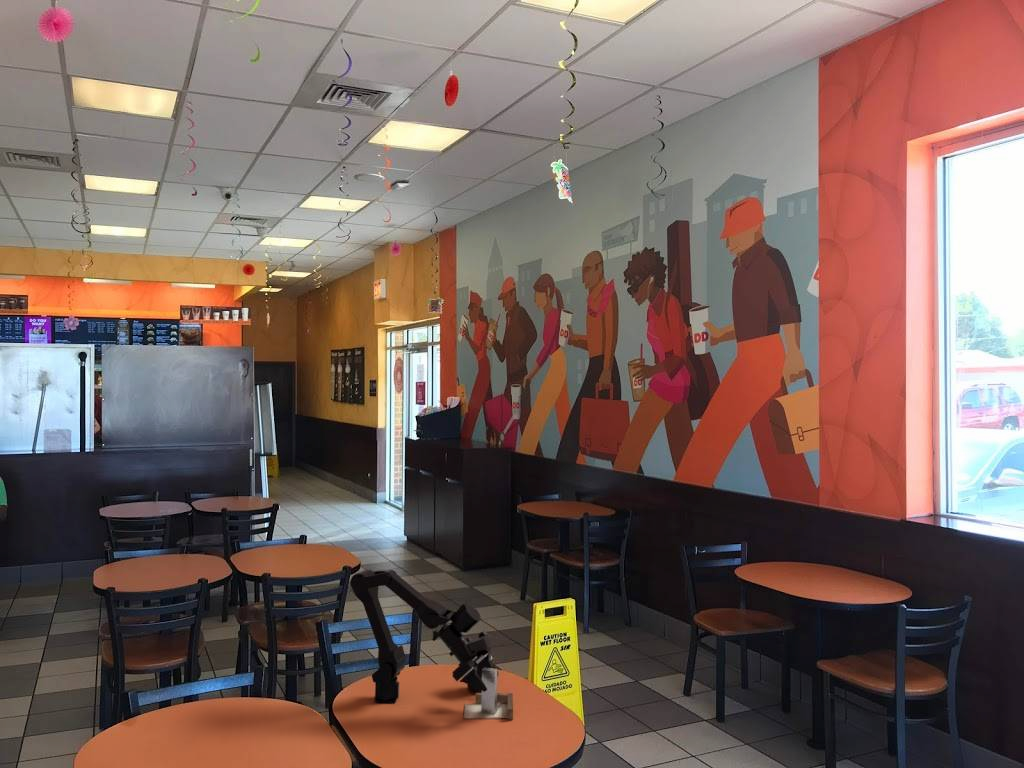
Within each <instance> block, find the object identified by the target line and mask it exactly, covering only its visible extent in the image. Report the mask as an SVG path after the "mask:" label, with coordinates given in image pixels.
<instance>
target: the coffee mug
mask: <svg viewBox="0 0 1024 768" xmlns="http://www.w3.org/2000/svg"><path fill="white" fill-rule="evenodd" d="M490 661H491V664H492V666H493V668H494V669H497V678H498V676H499V669H498V668H497V667H496V666H494V665H493V656H492V655H491V657H490ZM476 665H477V663H476V664H475V665H474V666H473V667H475V666H476ZM477 673H478V675H479V676H480V678H481V680H482V671H480V670H479V669H477ZM466 686H467V691H468V692H469V693H470V692H471V694H474V693H482V690H479V689H477V688H475V687H473V686H471V685H468V684H466Z"/></svg>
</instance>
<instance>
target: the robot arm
mask: <svg viewBox="0 0 1024 768" xmlns="http://www.w3.org/2000/svg"><path fill="white" fill-rule="evenodd" d="M349 585H350V588H351V590H352V592H353V594H354V596H355V597H356V598H357V599H358V600H359V601H360V602H361V603H362V605H363V608H364V610H365V613H366V616H367V619H368V622H369V626H370V629H371V631H372V634H373V637H374V640H375V642H376V645H377V649H378V650H377V651H378V652H377V653H378V654H377V663H378V669H377V670H376V671H374V672H373V673H372V675H371V679H372V683H375V687H374V688H375V689H374V700H373V702H378V703H377V704H380V703H379V702H388V704H394V703H397V700H398V699H399V697H400V681H399V680H398V678H399V677H398V676H400V674H401V672H402V671H403V670H404V669H405V667H406V665H407V658H408V656H407V655H406V653H405V651H404V646H403V645H402V644H401V645H399V646H398V645H397V644H396V643H395V641H394V639H393V636H392V634H391V631H390V629H389V625H388V622H387V620H386V617H385V614H384V613H385V612H384V610H383V608H382V605H381V602H380V599H379V587H383V586H386V588H388V589H389V590H390V591H392V593H394V594H395V595H396V596H397V597H399V599H401V600H402V601H403V602H404V603H406V604H407V605H408V606H409V607H410V608H411V609H413V610H414V612H415V613H416V615H417V617H418V619H419V621H420V622H421V623H422V624H423V625H424V626H425V627H426V628H427V629H428V630H429V629H430V630H433V629H434V630H433V631H432V642H435V641H437V640H438V639H440V640H441V641H442V643H443V644H444V645H445V646H446V648H447V649H448V650H449V651H450V652H449V655H450V657H453V656H454V657H455V658H456V660H457V661H458V662H459V663H458V666H457V667H456V668H455V669H454V670H453V671H452V678H453V679H454V681H455V682H458V681H459V682H460V683H463V684H466V685H467V684H468V685H471V686H473V687H475V688H477V689H479V690H482V691H484V692H485V691H486V690H487V687H486V686H485V684H484V683H483V681H482V680H481V678H480V676H479V675H478V673H477V669H479V670H480V671H482V669H483V668H484V667H486V668H493V666H494V665H493V663H492V664H491V661H490V657H491V656H492V651H491V650H492V647H491V646H492V645H493V643H492V641H491V639H492V635H490V634H489V633H488V632H487V631H486V630H483V631H481V632H479V633H478V637H476V638H474V639H472V638H471V637H470V636H467V637H466V636H465V635H464V634H465V633H466V634H467V633H468V632H470V631H471V630H472V628H474V626H476V624H477V623H479V622H480V621H481V620H482V619H481V614H480V613H479V611H478V609H476V608H474V607H473V606H471V605H469V604H468V603H467V601H466V602H463V604H461V605H460V606H459V608H457V610H456V611H455V610H452V609H448V608H446V607H445V605H442V604H440V603H439V602H437V601H436V600H434V599H430V598H427V597H425V596H424V595H423V594H422V593H420V591H418V590H417V589H415V588H414V587H413V586H412V585H411V584H410V583H409V582H407V581H406V580H405V579H403V578H402V577H401V576H400V575H399V574H397V572H396V570H393V569H387V570H375V571H374V570H372V569H367V568H366V569H364V570H362V571H359V572H357V573H355V574H353V575H352V577H351V579H350V581H349ZM450 621H451V622H450ZM448 623H449V624H448ZM477 625H478V624H477ZM440 626H441V627H440ZM439 627H440V628H439ZM437 628H439V629H437ZM463 633H464V634H463ZM476 663H477V665H476V666H475V667H473V666H474V665H475V664H476Z"/></svg>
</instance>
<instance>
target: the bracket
mask: <svg viewBox="0 0 1024 768" xmlns="http://www.w3.org/2000/svg"><path fill="white" fill-rule="evenodd" d="M497 670H498V668H497V669H494V668H486V667H484V668H483V669H482V681H483V683H484V684H485V686H486V687H487V690H486V691H485V692H484V691H482V699H481V713H485V714H491V715H495V714H496V712H497V711H498V710H499V709H500V708H501V703H497V693H498V677H497Z"/></svg>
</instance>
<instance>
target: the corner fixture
mask: <svg viewBox="0 0 1024 768" xmlns="http://www.w3.org/2000/svg"><path fill="white" fill-rule="evenodd" d="M481 699H482V693H476V694H475V703H465V705H464V713H463V719H486V720H487V719H488V720H489V719H490V720H491V719H493V720H495V719H498V720H499V718H500V720H501V718H507V719H506V720H507V721H513V720H514V694H513V693H511V692H507V693H505V692H497V703H501V708H500V709H499V710H498V711H497V712H496V714H495V715H491V714H485V713H481Z"/></svg>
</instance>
